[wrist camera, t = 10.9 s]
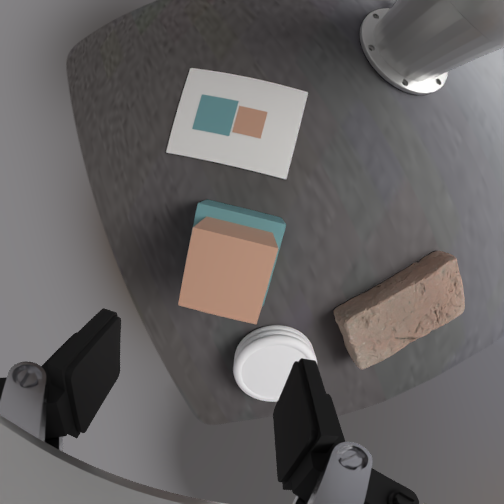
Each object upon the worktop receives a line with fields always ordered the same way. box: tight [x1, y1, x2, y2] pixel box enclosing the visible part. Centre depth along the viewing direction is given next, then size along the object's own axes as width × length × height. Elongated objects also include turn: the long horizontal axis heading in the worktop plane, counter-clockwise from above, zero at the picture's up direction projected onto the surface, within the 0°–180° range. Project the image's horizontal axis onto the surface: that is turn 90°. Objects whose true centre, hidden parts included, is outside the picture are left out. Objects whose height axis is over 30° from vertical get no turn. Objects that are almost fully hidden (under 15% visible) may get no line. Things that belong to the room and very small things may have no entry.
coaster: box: [233, 325, 317, 402], centre depth 33 cm, size 10×10×4 cm
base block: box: [182, 200, 286, 306], centre depth 29 cm, size 8×8×5 cm
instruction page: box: [166, 68, 308, 179], centre depth 28 cm, size 10×13×1 cm
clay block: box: [178, 217, 278, 324], centre depth 23 cm, size 6×6×6 cm
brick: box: [334, 251, 465, 370], centre depth 31 cm, size 17×8×5 cm, turn 117°
